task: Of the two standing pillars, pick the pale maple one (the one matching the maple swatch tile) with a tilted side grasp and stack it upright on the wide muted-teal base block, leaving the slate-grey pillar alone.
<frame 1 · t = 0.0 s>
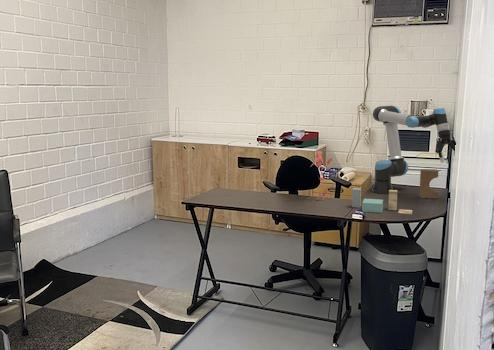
hand: (450, 161, 306), 28 cm above the table, tool tilted 20°, fingers open, 13 cm apart
maple pillar: (392, 209, 297), on the table
decorative block: (428, 198, 326), on the table
teal base block: (372, 210, 297), on the table
maple swatch tile: (405, 212, 289), on the table
slate-grey pillar: (356, 206, 306), on the table
figurine: (318, 198, 332), on the table
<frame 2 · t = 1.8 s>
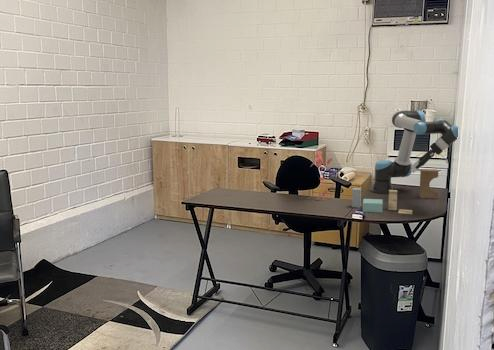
hand: (411, 169, 289), 26 cm above the table, tool tilted 45°, fingers open, 13 cm apart
nothing on the table moved.
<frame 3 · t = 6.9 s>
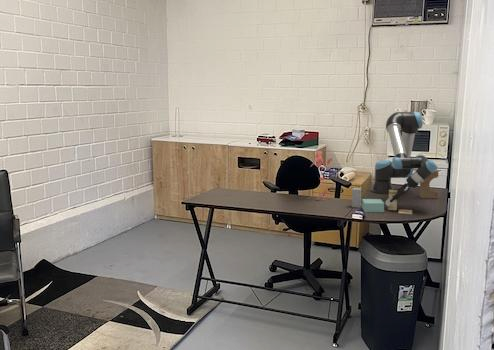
hand: (386, 203, 298), 3 cm above the table, tool tilted 45°, fingers closed on maple pillar, 5 cm apart
maple pillar: (392, 209, 297), on the table, touching gripper
when the fingers open (10 cm above the table, at t = 10.8 s): maple pillar drops 1 cm, resting on teal base block.
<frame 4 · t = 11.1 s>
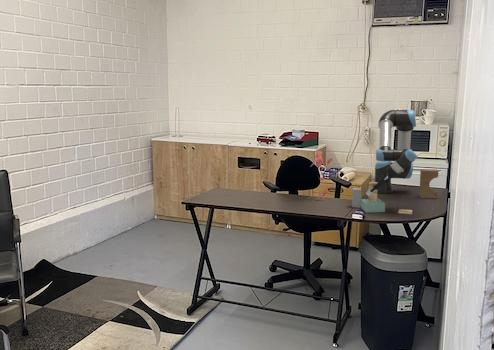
hand: (367, 193, 296), 11 cm above the table, tool tilted 45°, fingers open, 8 cm apart
maple pillar: (372, 201, 296), point 6 cm above the table, touching teal base block
teal base block: (372, 210, 297), on the table, touching maple pillar
everything else where it was.
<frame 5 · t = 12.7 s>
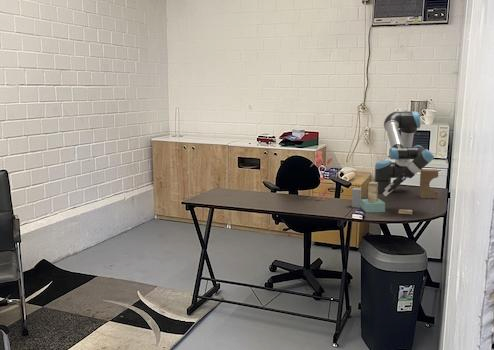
hand: (385, 192, 292), 12 cm above the table, tool tilted 45°, fingers open, 13 cm apart
nothing on the table moved.
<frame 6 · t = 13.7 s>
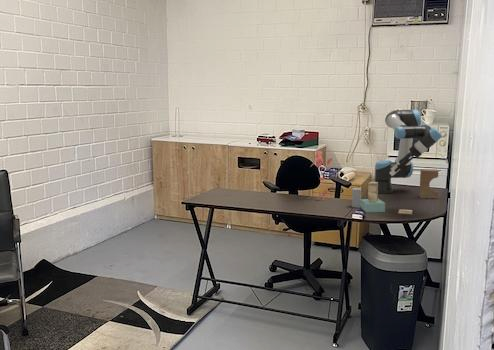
hand: (391, 172, 288), 25 cm above the table, tool tilted 45°, fingers open, 13 cm apart
nothing on the table moved.
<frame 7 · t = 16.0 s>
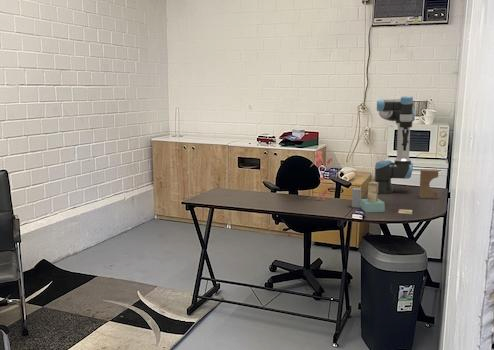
hand: (404, 154, 296), 35 cm above the table, tool pointing down, fingers open, 13 cm apart
maple pillar: (372, 201, 296), point 6 cm above the table
teal base block: (372, 210, 297), on the table
everything else where it was.
at the end: maple pillar inside the target area on the teal base block (0.2 cm from its centre), point 6.0 cm above the teal base block's base; maple pillar tilted 0°; the gripper is holding nothing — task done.
